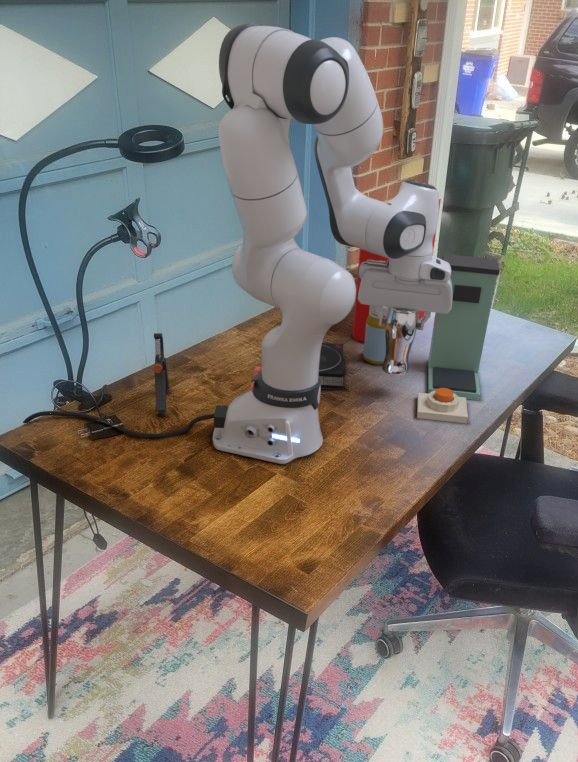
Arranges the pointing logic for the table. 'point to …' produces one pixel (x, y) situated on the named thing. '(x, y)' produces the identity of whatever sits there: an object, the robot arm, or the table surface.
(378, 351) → the bottle
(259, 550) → the table surface
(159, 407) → the hand grip strengthener
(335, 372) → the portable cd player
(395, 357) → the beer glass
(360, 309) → the book
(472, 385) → the mint green tower
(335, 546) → the table surface
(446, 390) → the button
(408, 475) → the table surface
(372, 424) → the table surface
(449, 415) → the control pad
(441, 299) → the robot arm
